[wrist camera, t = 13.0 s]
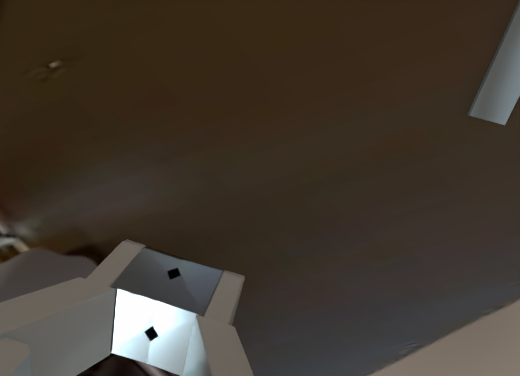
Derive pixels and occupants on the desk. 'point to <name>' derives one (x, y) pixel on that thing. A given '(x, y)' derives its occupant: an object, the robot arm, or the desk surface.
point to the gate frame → (501, 78)
